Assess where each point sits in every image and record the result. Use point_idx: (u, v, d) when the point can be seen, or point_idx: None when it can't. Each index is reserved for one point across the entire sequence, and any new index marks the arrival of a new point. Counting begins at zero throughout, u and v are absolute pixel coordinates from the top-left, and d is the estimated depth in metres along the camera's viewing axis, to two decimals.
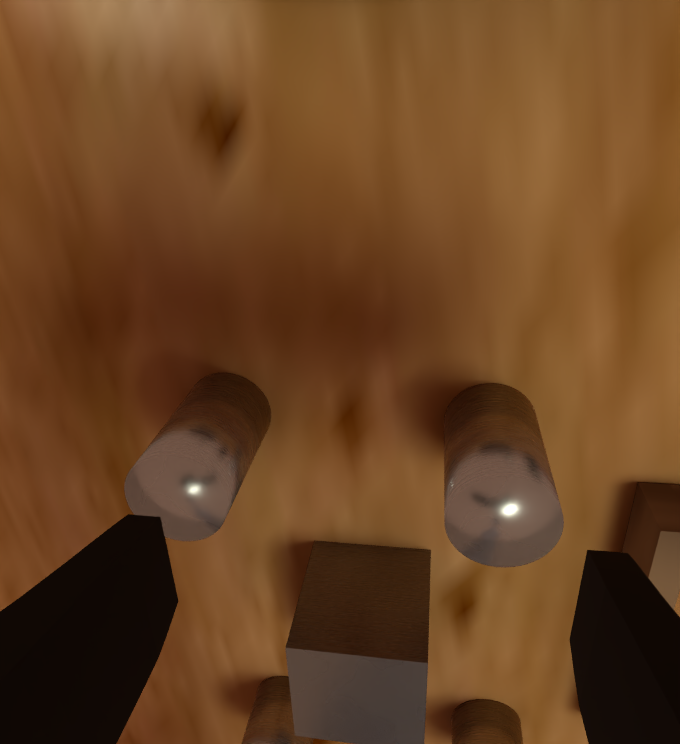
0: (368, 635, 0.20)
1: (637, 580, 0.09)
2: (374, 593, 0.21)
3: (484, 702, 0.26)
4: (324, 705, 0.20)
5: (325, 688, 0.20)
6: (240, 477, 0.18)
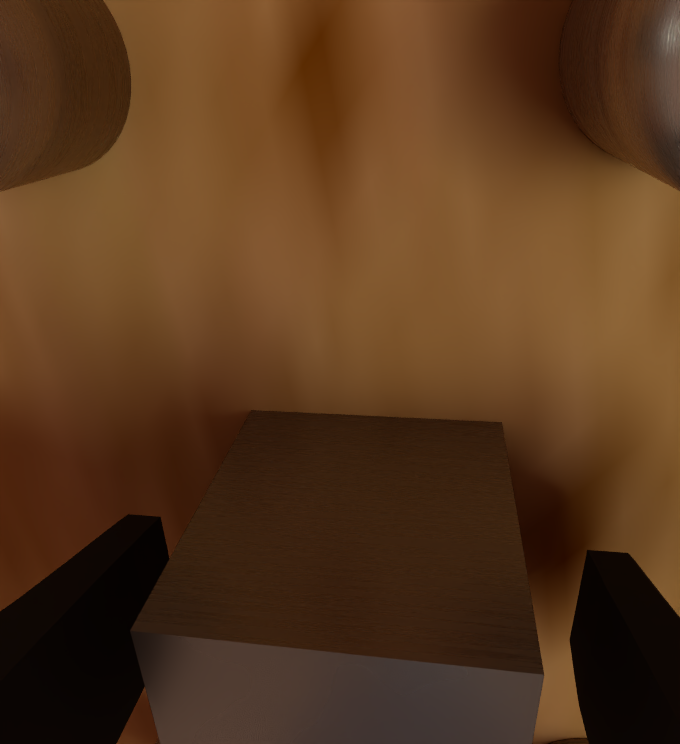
0: (366, 598, 0.07)
1: (637, 580, 0.09)
2: (380, 502, 0.09)
3: None
4: None
5: (248, 738, 0.07)
6: None
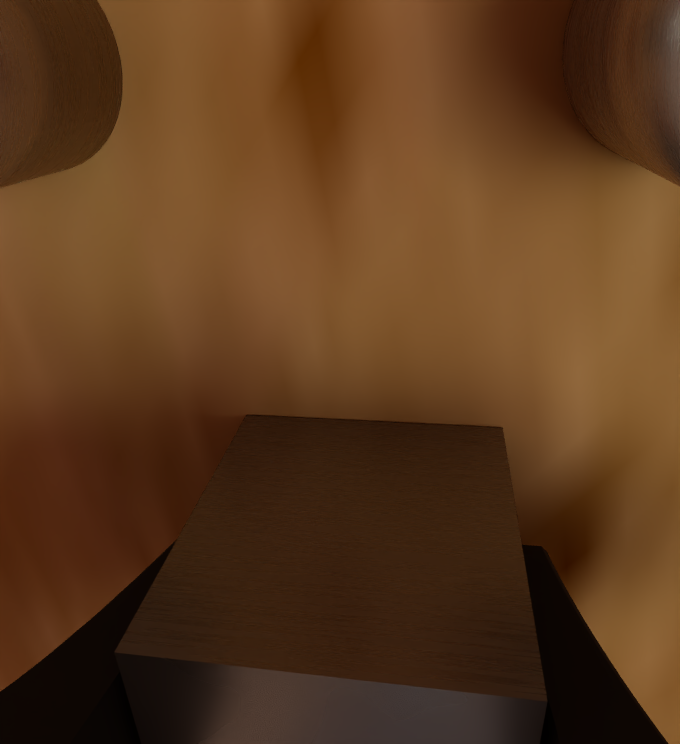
0: (360, 617, 0.07)
1: (542, 572, 0.09)
2: (377, 514, 0.08)
3: None
4: None
5: None
6: None
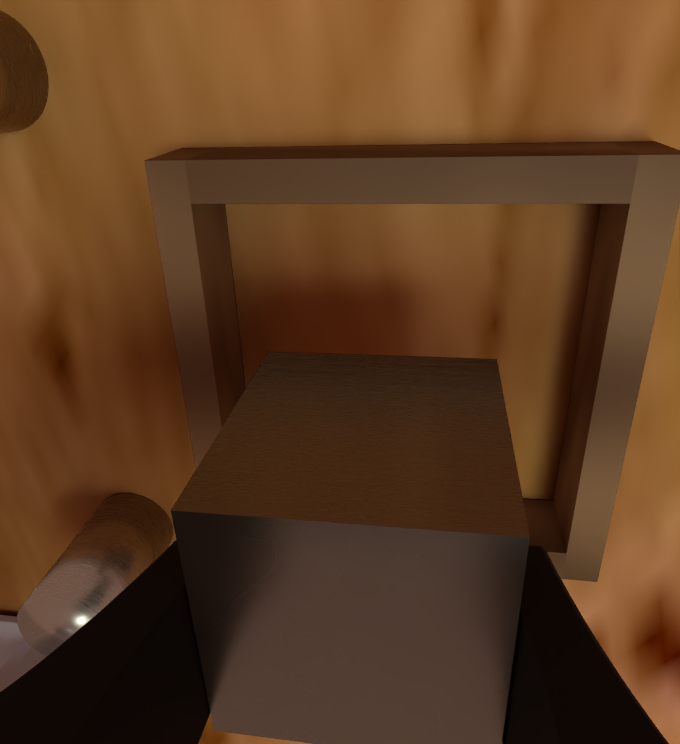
0: (375, 486, 0.08)
1: (542, 572, 0.09)
2: (387, 419, 0.10)
3: (122, 495, 0.22)
4: (272, 659, 0.09)
5: (271, 614, 0.08)
6: None
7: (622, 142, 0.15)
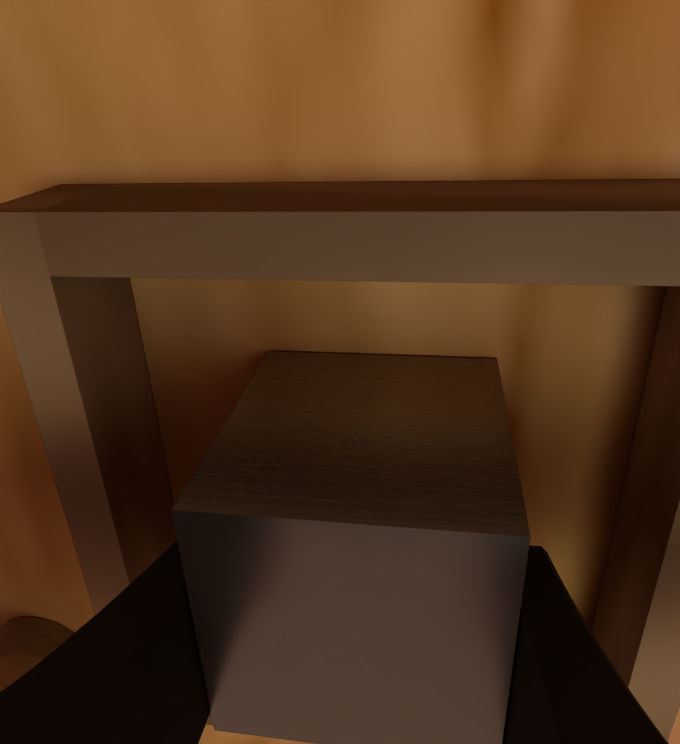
0: (376, 486, 0.08)
1: (542, 572, 0.09)
2: (387, 419, 0.10)
3: (26, 619, 0.17)
4: (272, 658, 0.09)
5: (272, 614, 0.08)
6: None
7: None
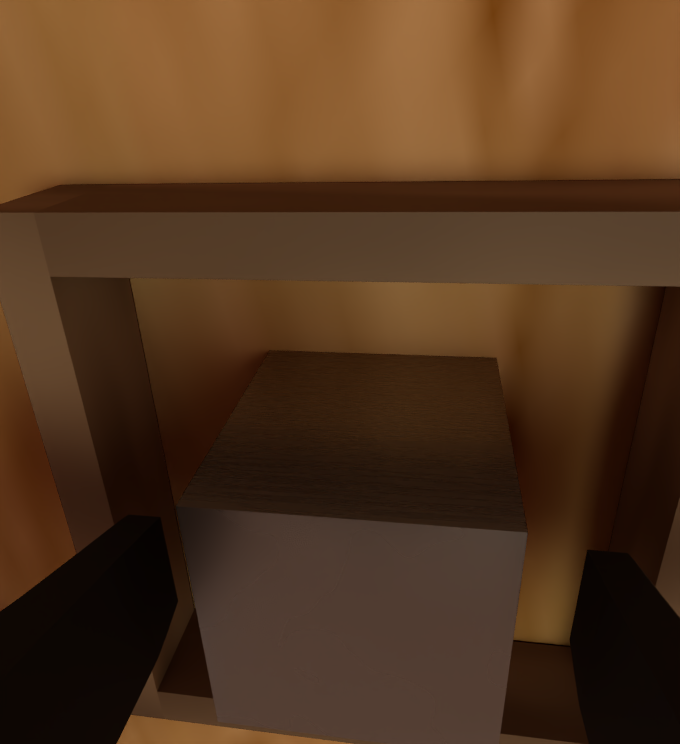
0: (376, 482, 0.08)
1: (637, 580, 0.09)
2: (387, 416, 0.10)
3: None
4: (275, 651, 0.09)
5: (275, 608, 0.09)
6: None
7: None
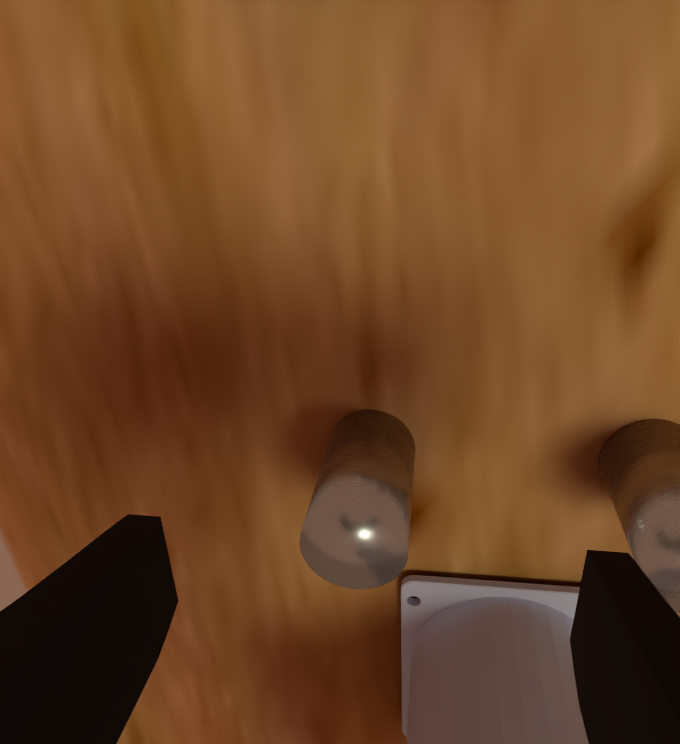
0: None
1: (637, 580, 0.09)
2: None
3: (651, 421, 0.19)
4: None
5: None
6: None
7: None
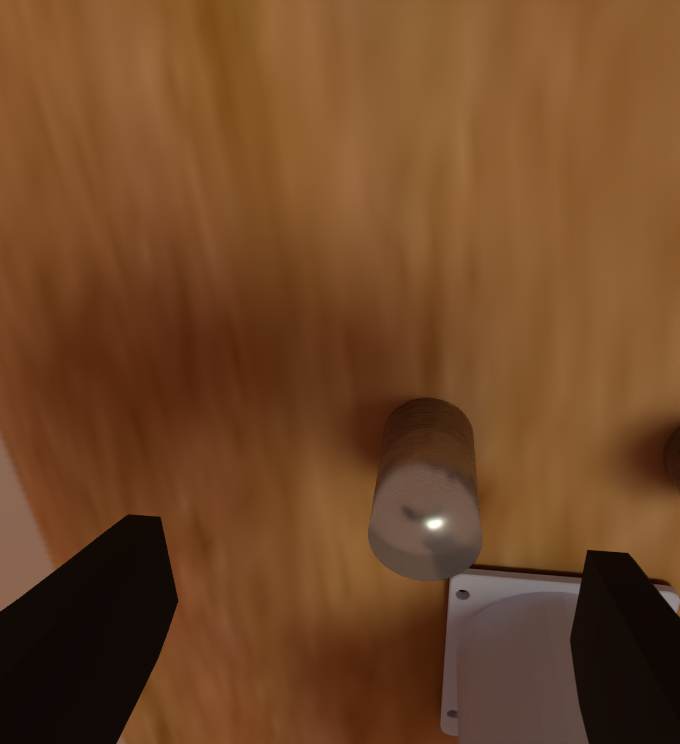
0: None
1: (637, 580, 0.09)
2: None
3: None
4: None
5: None
6: None
7: None
